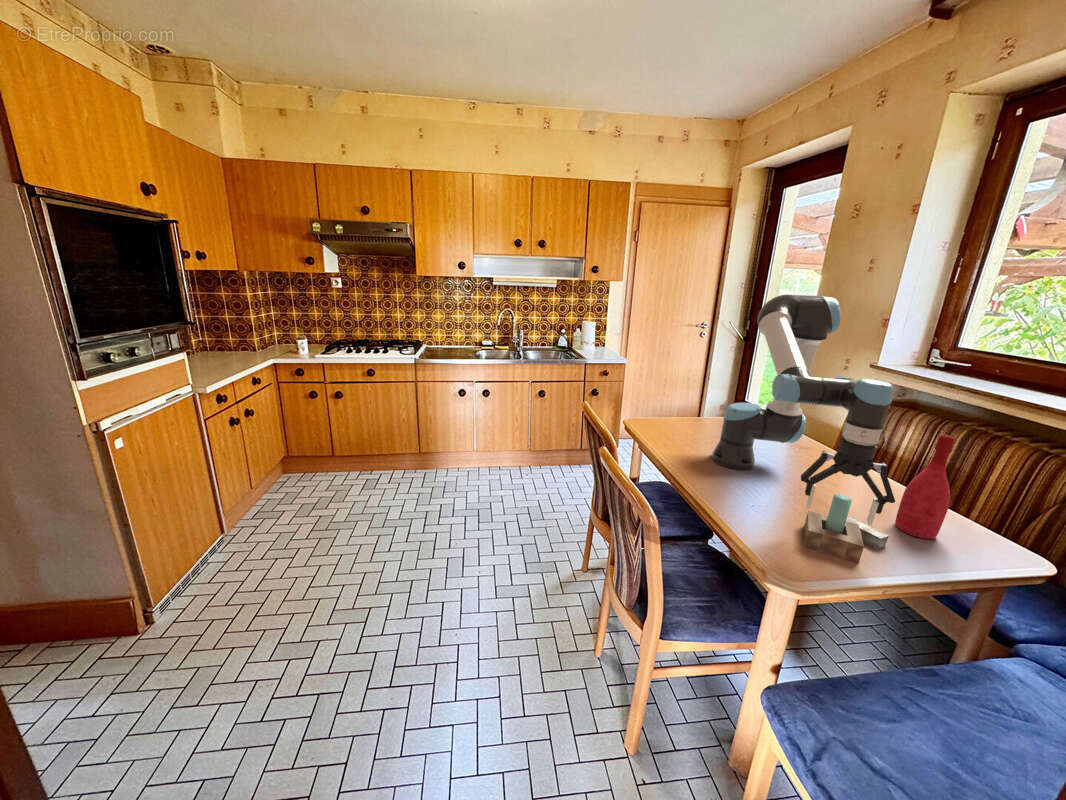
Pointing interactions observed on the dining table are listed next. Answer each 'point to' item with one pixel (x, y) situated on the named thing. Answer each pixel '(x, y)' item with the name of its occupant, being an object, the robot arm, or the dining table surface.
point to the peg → (838, 513)
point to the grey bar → (871, 535)
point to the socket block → (833, 538)
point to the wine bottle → (927, 496)
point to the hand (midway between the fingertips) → (837, 514)
